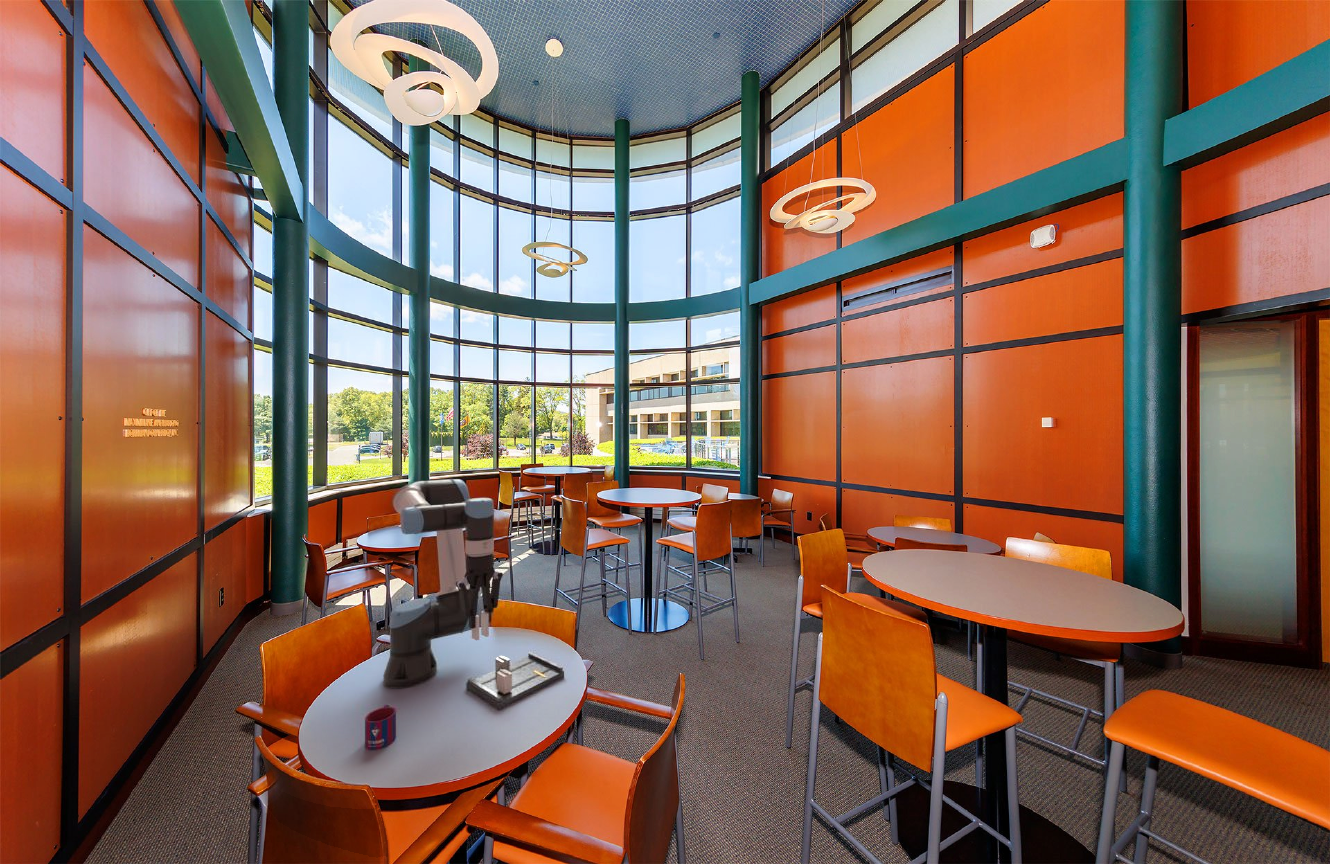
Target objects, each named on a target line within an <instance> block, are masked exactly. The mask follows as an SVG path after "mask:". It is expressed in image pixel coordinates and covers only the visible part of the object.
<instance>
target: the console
mask: <svg viewBox="0 0 1330 864" xmlns="http://www.w3.org/2000/svg"><path fill="white" fill-rule="evenodd" d="M494 659H495V665H494V666H495V670H493V671H491V672H488V673H486V674H483V675H482V676H479V677H476V678H475V679H474V678H472V677H469V678H467V682H466V683H465V684H466V685H465V686H466V687H465V688H466V691H467V692H470V693H471V694H473V695H474V696H476V697H477V698H479V699H480V700H482V701H483V702H484V703H486V704H488V705H490V706H491V707H492V708H494V709H496V710H497V711H501V710H503V709H506V708H507V707H510V706H511V705H513V704H515V703H517V702H519V701H521V700H523V699H525V698H527V697H529V696H531V695H532V694H534V693H536V692H538V691H540V690H543V689H544V688H546V687H548V686H550V685H552V684H554V683H556V682H559V681H560V680H562V679H564V678H565V670H564V668H563V666H561V665H559V664H557V663H555V662H553V661H551V660H549V659H546V658H544V657H542V656H540V655H538V654H535V653H534V652H531V651H530V652H528V655H527V656H524V657H523V658H521V659H517V660H516V661H512V662H511V663H510V661H511V659H510V658H509V657H506V656H504V655H498V657H496V658H494ZM501 669H502V670H503V669H505V670H507V671H509V672H511V673H512V691H510V692H508V693H506V694H503V693H502V692H500V691H498V690H497V672H499V671H500V670H501Z"/></svg>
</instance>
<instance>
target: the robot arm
mask: <svg viewBox="0 0 1330 864" xmlns="http://www.w3.org/2000/svg"><path fill="white" fill-rule="evenodd" d="M392 506H393V509H394V510H395V511H396V513H398V514H399V515H400V529H401V533H402V534H403V535H418V534H425V533H432V532H433V533H434V532H436V543H437V545H436V546H437V556H438V557H437V559H438V569H439V570H438V571H439V572H438V573H439V584H440V585H439V586H440V590H439V592H438V593H437V594H436V596H435V599H436V601H432V600H431V599H430V598H428V597H422V598H415V599H411V600H408V601H404V602H402V603H401V604H399V605H397V606H396V607H394V608H393V609H392V611H391V613H390V615H389V616H390V617H389V618H390V619H389V625H388V626H389V628H390V629H389V658H388V661H387V663H386V667H385V669H384V671H383V673H384V674H383V685H384V686H385V687H387V688H390V689H404V688H409V687H413V686H417V685H420V684H423V683H425V682H427V681H428V680H430V679H432V678H433V677H435V675H436V673H437V672H438V663H437V659H436V658H435V655H434V653H433V650H432V640H435V639H440V638H444V637H448V636H453V635H456V634H463V633H465V632H469V631H471V638H472V639H473V640H475V641H479V640H480V635H481V636H484V637H486V638H487V637H489V635H490V628H489V627H490V626H489V625H490V623H491V622H492V613H493V612H494V609H497V608H498V604H499V597H500V587H501V581H502V578H503V576H504V573H503V572H500V571H496V570H495V568H494V566H495V554H494V550H495V544H494V543H495V534H494V533H495V507H494V500H493V498H489V497H476V498H475V497H474V498H470V493H469V489H468V486H467V484H466V483H465V481H464V480H462V479H458V478H456V479H453V478H449V479H435V480H434V479H433V480H418V481H414V482H410V483H407V484H406V485H404V486H401V488H399V489H398V490H397V491H395V493H394V495H393V497H392ZM463 529H465V541H464V531H463ZM464 542H465V543H464ZM480 590H481V596H482V604H483V611H480V610H481V607H480V605H481V604H480V603H481V602H480V601H481V600H480V597H479V592H480ZM480 631H481V632H480Z"/></svg>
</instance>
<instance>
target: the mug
mask: <svg viewBox="0 0 1330 864" xmlns="http://www.w3.org/2000/svg"><path fill="white" fill-rule="evenodd" d="M396 738H397V709H396V707H393V706H390V704H384V706H383V707H380V708H376V709H374V710H372V711H370V712H369V713H368V714H367V715H366V716H365V718H364V747H365V748H366V749H367V750H370V751H377V750H380V749H384V748H385V747H388V746H389V745H391V744H392V743H393V742H394V741H395V740H396Z"/></svg>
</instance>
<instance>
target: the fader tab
mask: <svg viewBox="0 0 1330 864" xmlns="http://www.w3.org/2000/svg"><path fill="white" fill-rule="evenodd" d="M497 690H498V691H500V692H502V693H503V694H506V693H508V692H510V691H512V673H511V672H509V671H507V670H505V669H503V670H502V669H501V670H500V671H499V672H497Z"/></svg>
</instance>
